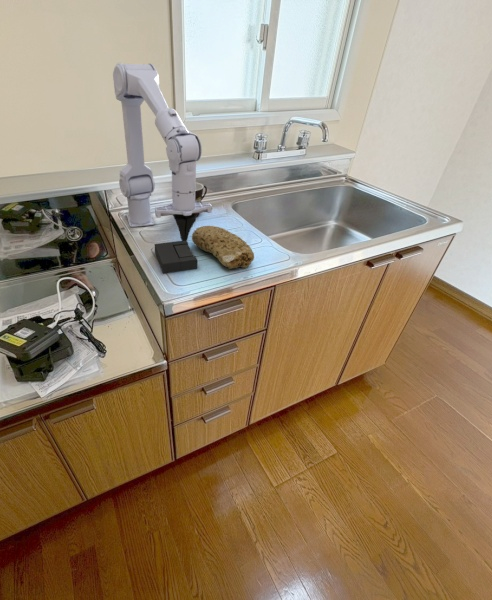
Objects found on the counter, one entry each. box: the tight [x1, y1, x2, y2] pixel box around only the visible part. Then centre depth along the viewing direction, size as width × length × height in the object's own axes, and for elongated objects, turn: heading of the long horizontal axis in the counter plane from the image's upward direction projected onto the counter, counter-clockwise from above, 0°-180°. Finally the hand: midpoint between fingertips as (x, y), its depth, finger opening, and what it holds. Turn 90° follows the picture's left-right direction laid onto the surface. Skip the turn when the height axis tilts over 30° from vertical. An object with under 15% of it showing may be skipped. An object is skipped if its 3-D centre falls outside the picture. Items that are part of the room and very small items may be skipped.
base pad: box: [154, 240, 198, 274], centre depth 89 cm, size 11×10×3 cm
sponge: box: [191, 225, 255, 270], centre depth 91 cm, size 13×8×20 cm
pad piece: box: [174, 243, 195, 258], centre depth 89 cm, size 6×4×3 cm, turn 18°
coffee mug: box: [195, 182, 208, 218], centre depth 112 cm, size 12×9×10 cm
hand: (183, 239), depth 86 cm, fingers closed
